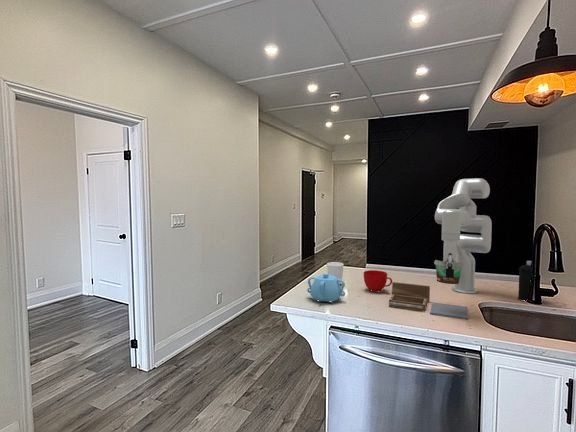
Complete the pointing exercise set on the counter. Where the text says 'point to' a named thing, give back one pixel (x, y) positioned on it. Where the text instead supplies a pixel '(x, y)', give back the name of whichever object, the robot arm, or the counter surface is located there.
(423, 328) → the counter surface
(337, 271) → the cup
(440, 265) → the food container
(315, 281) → the decorative pot
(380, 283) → the ceramic cup
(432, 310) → the mat
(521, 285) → the black bottle
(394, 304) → the box
